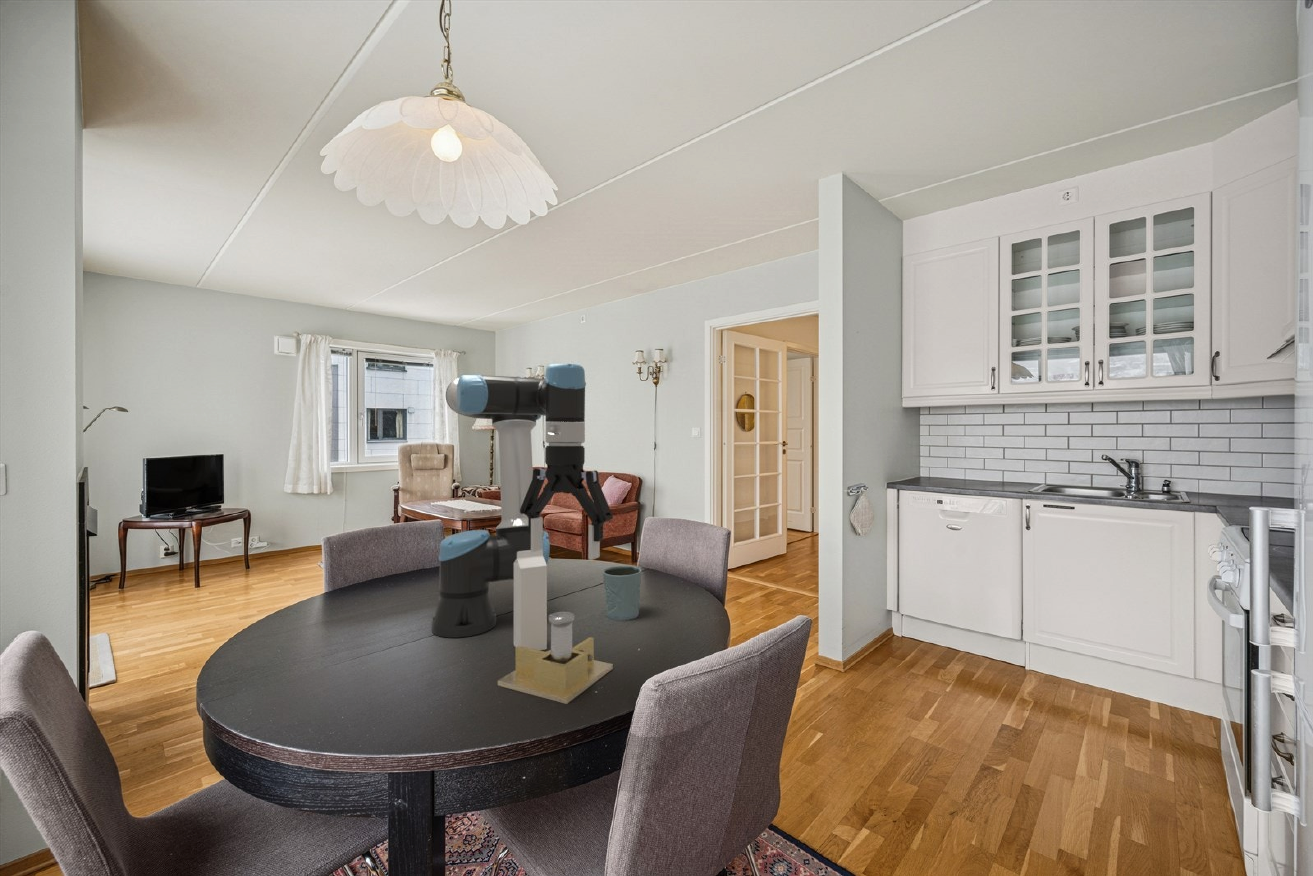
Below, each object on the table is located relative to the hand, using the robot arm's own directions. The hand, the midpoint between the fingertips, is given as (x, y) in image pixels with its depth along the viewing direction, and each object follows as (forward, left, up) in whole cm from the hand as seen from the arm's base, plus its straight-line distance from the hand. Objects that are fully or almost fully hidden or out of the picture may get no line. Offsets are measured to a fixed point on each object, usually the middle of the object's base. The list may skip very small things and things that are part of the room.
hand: (564, 554), depth 104 cm
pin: (+1, -2, -24) cm, 24 cm away
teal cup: (-9, +39, -25) cm, 47 cm away
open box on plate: (-3, +1, -25) cm, 25 cm away
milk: (-17, +11, -25) cm, 32 cm away
